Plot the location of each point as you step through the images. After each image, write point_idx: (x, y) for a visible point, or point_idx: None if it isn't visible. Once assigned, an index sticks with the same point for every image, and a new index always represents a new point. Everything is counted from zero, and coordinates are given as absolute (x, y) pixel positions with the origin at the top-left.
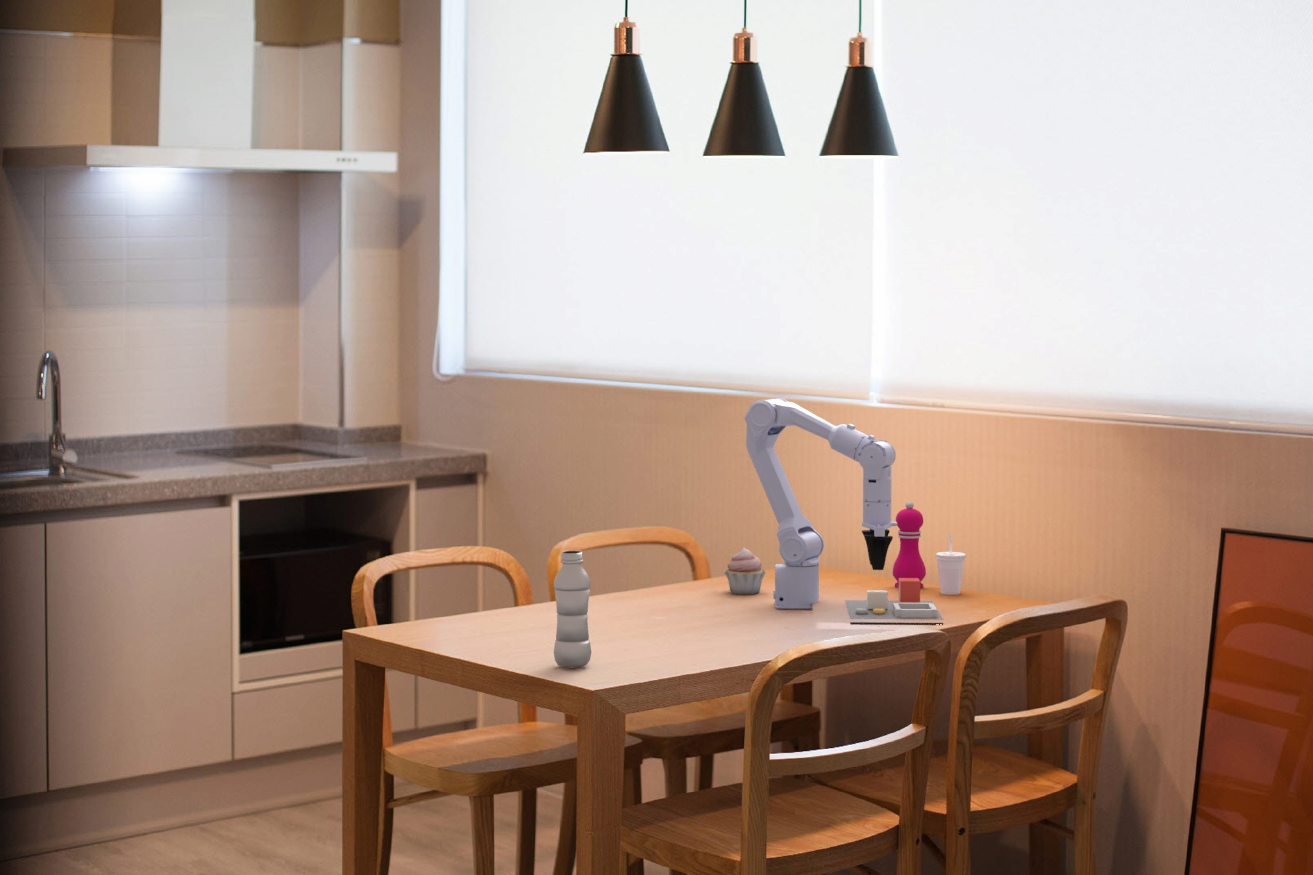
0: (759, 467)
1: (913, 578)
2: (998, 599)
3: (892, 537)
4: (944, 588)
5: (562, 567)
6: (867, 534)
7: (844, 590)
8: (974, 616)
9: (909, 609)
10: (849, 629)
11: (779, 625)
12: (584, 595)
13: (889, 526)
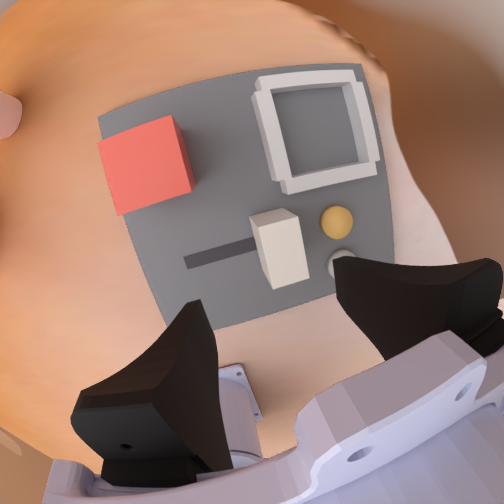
0: None
1: (110, 157)
2: (14, 34)
3: (496, 262)
4: (5, 121)
5: None
6: (228, 468)
7: (25, 352)
8: (220, 5)
9: (371, 139)
10: (421, 256)
11: None
12: None
13: (499, 360)
